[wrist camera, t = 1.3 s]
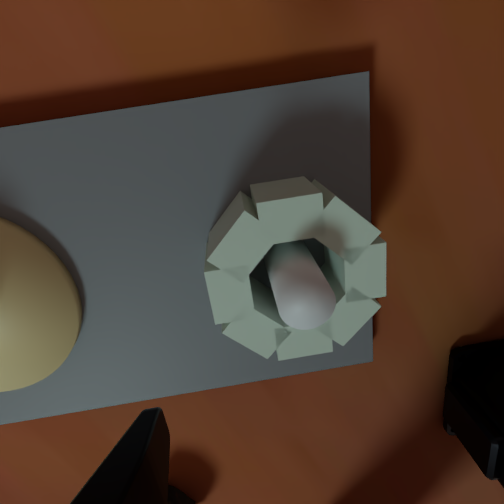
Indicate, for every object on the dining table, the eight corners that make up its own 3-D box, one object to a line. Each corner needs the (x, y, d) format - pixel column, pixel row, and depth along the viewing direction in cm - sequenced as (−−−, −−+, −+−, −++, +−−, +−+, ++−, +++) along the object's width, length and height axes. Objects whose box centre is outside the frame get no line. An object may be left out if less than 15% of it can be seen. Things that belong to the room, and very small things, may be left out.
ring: (356, 167, 15) (386, 182, 13) (360, 305, 18) (385, 342, 15) (196, 193, 15) (191, 213, 12) (224, 328, 18) (224, 369, 15)
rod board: (359, 72, 15) (443, 56, 9) (365, 349, 20) (420, 442, 15) (-199, 158, 14) (-461, 194, 9) (-39, 418, 20) (-139, 540, 14)
